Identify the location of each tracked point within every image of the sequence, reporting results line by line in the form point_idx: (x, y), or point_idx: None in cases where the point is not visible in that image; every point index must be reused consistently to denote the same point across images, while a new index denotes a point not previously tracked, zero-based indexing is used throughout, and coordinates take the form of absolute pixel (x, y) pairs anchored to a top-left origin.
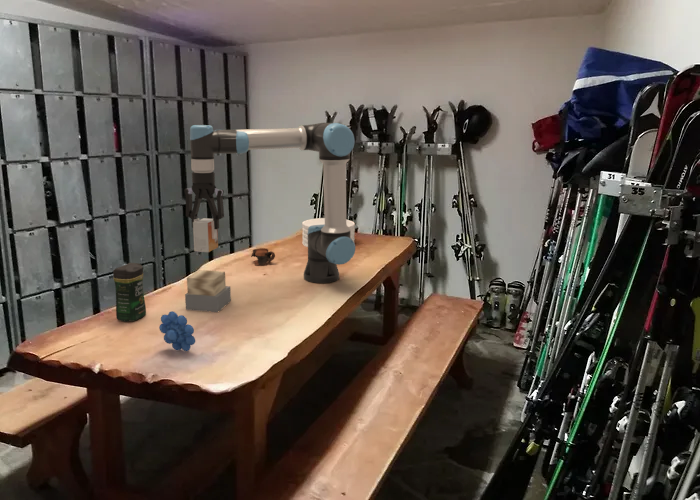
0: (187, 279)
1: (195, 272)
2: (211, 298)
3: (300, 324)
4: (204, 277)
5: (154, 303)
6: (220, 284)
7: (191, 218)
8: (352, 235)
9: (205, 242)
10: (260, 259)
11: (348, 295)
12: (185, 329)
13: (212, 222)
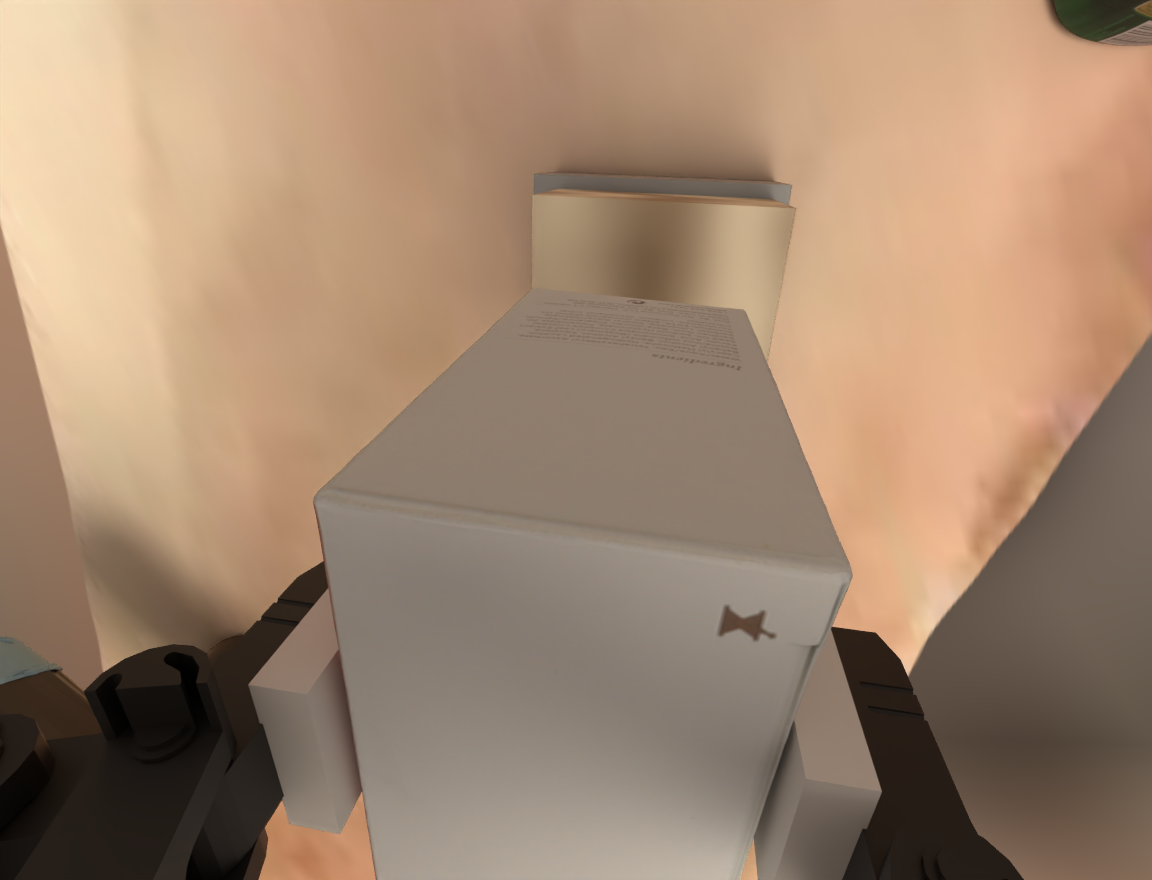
0: (787, 207)
1: None
2: (581, 175)
3: (50, 62)
4: (634, 245)
5: (1028, 261)
6: None
7: (989, 849)
8: None
9: (544, 324)
10: None
11: (75, 504)
12: None
13: (306, 650)
